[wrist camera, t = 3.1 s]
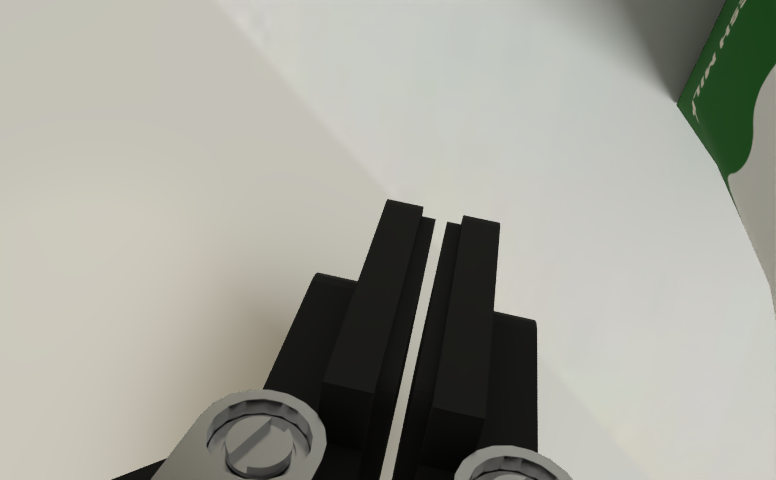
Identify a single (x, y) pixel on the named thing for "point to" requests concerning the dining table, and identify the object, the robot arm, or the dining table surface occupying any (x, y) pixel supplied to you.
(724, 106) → the white and green box
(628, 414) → the dining table surface
